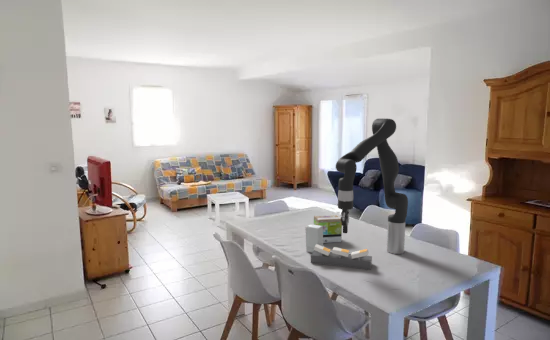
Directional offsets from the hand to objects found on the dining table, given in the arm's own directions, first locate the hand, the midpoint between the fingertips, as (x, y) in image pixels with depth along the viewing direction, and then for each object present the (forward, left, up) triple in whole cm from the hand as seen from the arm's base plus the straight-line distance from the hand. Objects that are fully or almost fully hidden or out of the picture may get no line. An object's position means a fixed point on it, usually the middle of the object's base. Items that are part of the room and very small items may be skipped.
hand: (345, 232), depth 190 cm
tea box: (-37, -16, -17) cm, 44 cm away
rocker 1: (0, -12, -11) cm, 16 cm away
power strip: (-2, -2, -17) cm, 17 cm away
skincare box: (-15, -19, -17) cm, 29 cm away
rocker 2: (0, -2, -10) cm, 10 cm away
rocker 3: (0, +7, -10) cm, 13 cm away
